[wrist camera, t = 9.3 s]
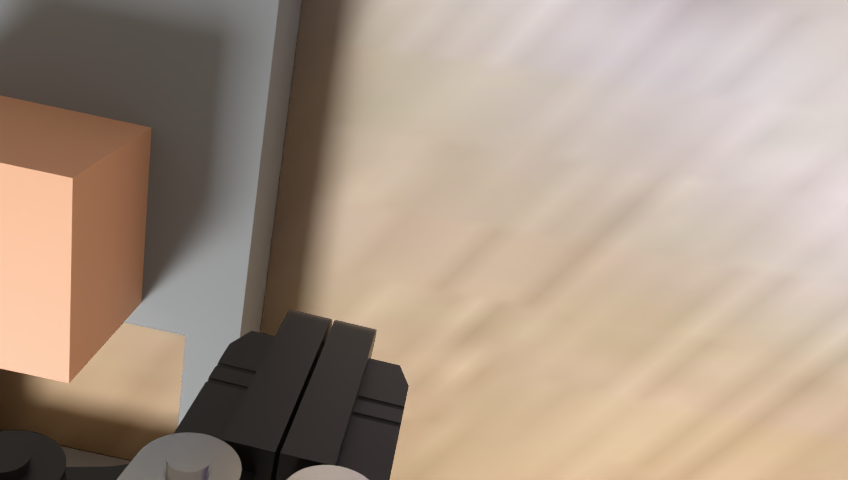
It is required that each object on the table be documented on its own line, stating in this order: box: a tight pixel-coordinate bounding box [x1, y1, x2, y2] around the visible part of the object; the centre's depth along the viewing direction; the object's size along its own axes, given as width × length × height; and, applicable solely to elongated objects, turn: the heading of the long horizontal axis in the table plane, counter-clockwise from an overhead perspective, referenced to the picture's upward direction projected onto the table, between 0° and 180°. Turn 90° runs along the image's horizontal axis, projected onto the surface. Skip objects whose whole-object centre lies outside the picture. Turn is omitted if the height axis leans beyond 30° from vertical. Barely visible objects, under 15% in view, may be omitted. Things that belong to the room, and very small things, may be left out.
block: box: [0, 95, 151, 383], centre depth 19 cm, size 5×5×4 cm
